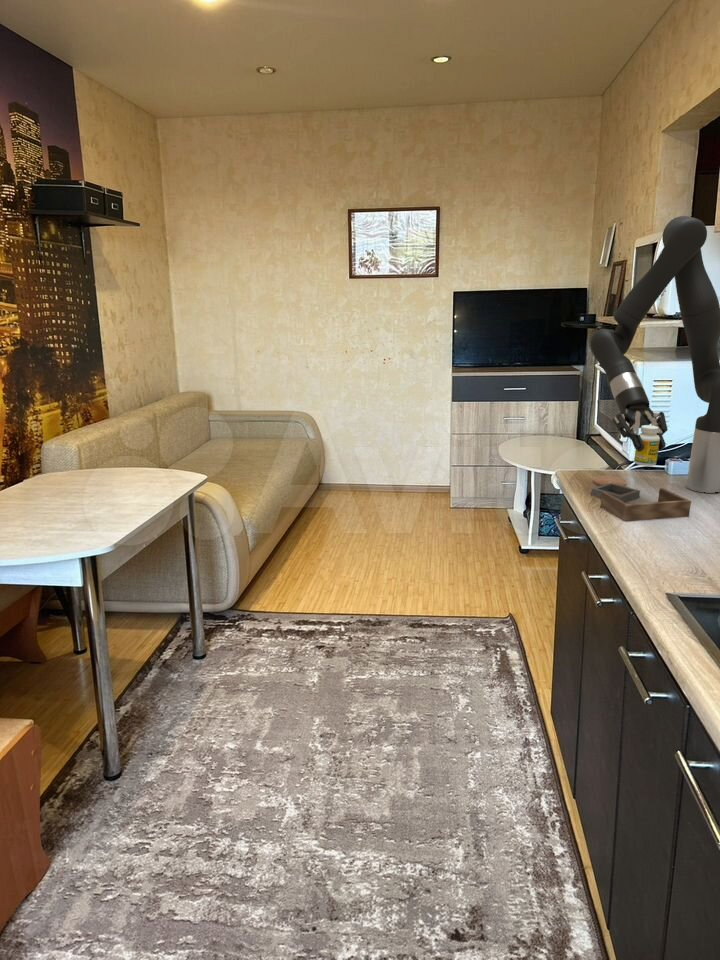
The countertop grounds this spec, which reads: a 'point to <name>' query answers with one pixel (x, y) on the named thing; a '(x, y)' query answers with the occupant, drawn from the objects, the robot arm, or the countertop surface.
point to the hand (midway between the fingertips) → (651, 449)
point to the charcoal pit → (616, 492)
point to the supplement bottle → (648, 446)
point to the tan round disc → (609, 480)
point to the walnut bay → (648, 507)
